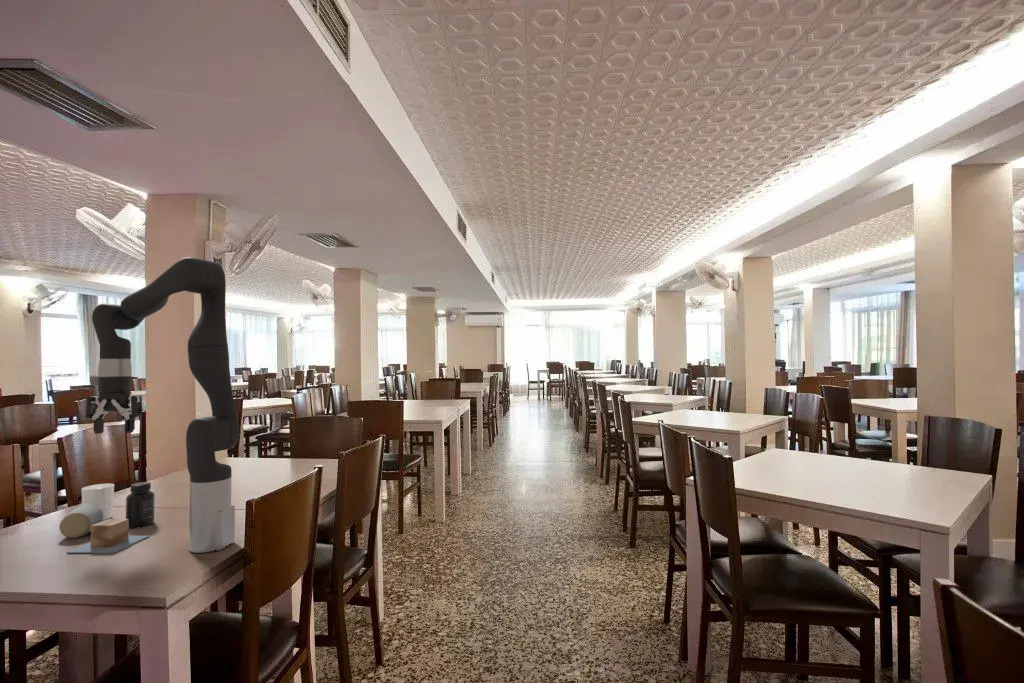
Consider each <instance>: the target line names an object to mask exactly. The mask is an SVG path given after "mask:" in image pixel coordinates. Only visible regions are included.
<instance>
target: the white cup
mask: <svg viewBox="0 0 1024 683" xmlns="http://www.w3.org/2000/svg"><path fill="white" fill-rule="evenodd" d="M114 496H115V484H114V483H98V484H97V483H96V484H92V485H87V486H83V487H82V488H81V505H83V504H93V505H96V506H98V507H99V508H100V509H101V510H102V512H103V520H108V519H112V516H113V515H112V514H113V507H114V505H113V504H114Z"/></svg>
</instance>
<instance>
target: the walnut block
mask: <svg viewBox="0 0 1024 683" xmlns="http://www.w3.org/2000/svg"><path fill="white" fill-rule="evenodd" d="M129 529H130V528H129V519H126V518H109V519H106V520H105V521H102V522H99V523H97V524H94V525H91V532H90V542H91V547H113V546H115V545H118V544H120V543H122V542H125V541H127V540H128V536H130V535H129Z"/></svg>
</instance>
